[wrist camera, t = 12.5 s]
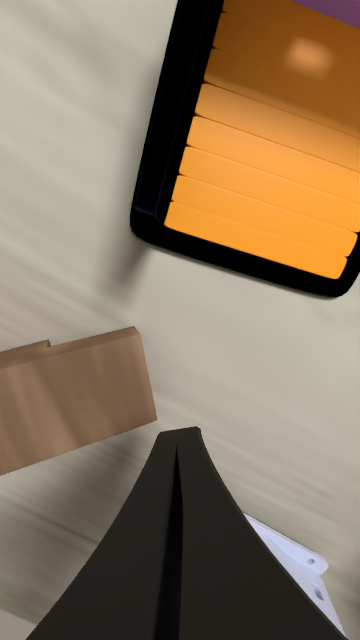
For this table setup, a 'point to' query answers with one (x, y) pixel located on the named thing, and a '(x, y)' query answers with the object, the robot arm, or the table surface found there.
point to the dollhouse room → (258, 142)
